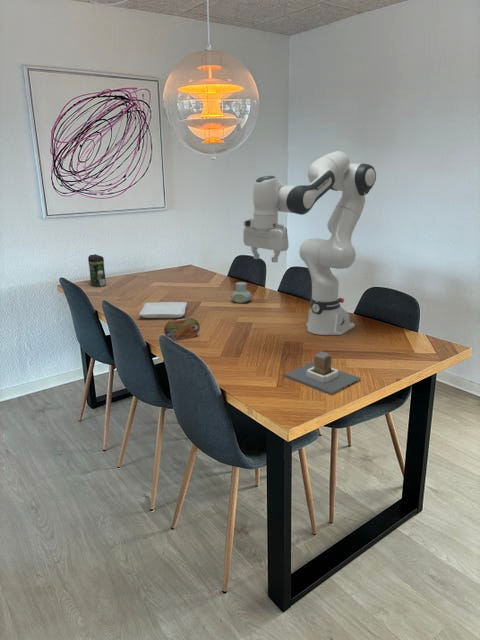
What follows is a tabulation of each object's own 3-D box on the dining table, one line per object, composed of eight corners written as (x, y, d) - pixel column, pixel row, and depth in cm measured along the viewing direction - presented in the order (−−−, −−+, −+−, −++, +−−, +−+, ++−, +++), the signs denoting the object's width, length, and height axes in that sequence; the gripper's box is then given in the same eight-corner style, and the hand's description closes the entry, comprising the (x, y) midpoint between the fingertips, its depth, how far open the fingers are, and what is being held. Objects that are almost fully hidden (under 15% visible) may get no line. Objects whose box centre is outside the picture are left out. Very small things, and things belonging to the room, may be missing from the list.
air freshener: (229, 303, 259) (228, 284, 256) (233, 299, 266) (232, 280, 263) (249, 304, 256) (249, 285, 253) (253, 300, 264) (253, 281, 261)
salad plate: (187, 307, 253) (187, 301, 252) (184, 320, 233) (184, 313, 232) (145, 308, 253) (145, 302, 252) (139, 321, 232) (138, 314, 231)
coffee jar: (89, 285, 301) (85, 254, 295) (101, 283, 306) (98, 253, 300) (95, 288, 294) (92, 256, 288) (108, 285, 299) (105, 255, 293)
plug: (321, 372, 171) (322, 350, 169) (330, 376, 168) (331, 354, 166) (313, 375, 168) (314, 353, 166) (323, 379, 166) (324, 357, 163)
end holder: (314, 363, 181) (314, 356, 180) (360, 380, 167) (361, 372, 166) (284, 376, 170) (284, 368, 170) (331, 395, 156) (331, 387, 155)
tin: (166, 342, 204) (164, 322, 202) (163, 340, 207) (162, 320, 204) (200, 336, 210) (199, 317, 208) (197, 334, 213) (196, 315, 210)
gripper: (292, 224, 175) (292, 263, 179) (252, 219, 190) (252, 255, 194) (280, 225, 171) (280, 265, 175) (240, 221, 186) (240, 258, 190)
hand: (265, 260), depth 185 cm, fingers open, 8 cm apart
